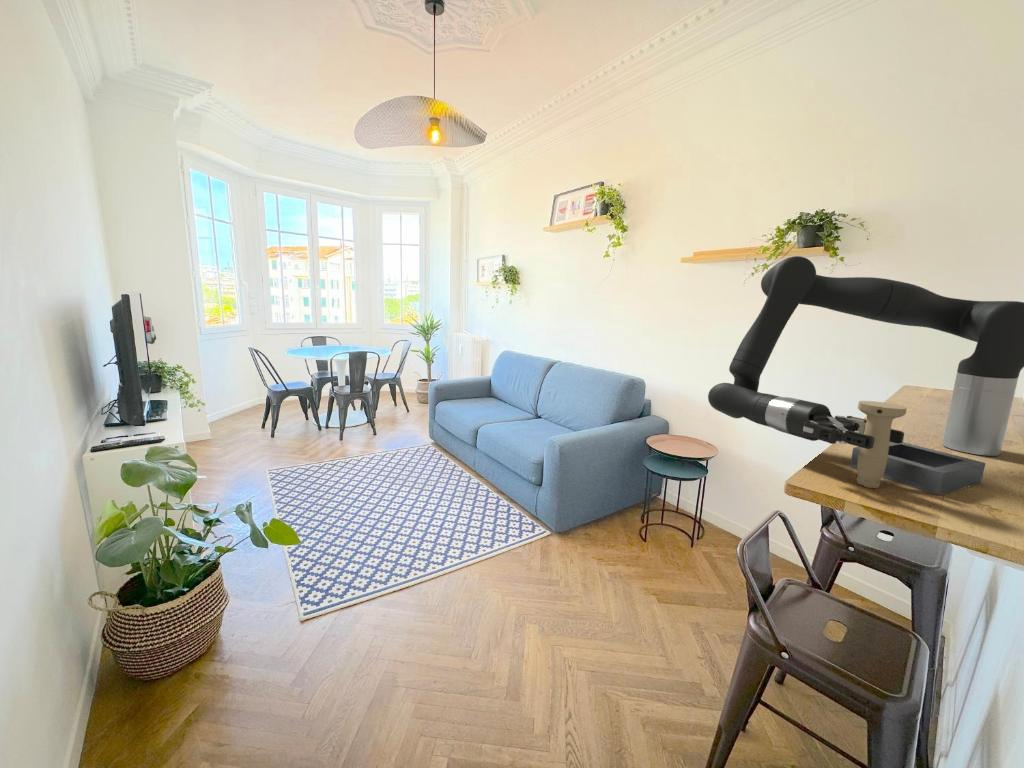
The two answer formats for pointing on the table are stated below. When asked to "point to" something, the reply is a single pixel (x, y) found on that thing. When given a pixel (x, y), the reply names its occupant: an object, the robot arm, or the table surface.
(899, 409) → the handle
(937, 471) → the housing
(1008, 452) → the table surface
